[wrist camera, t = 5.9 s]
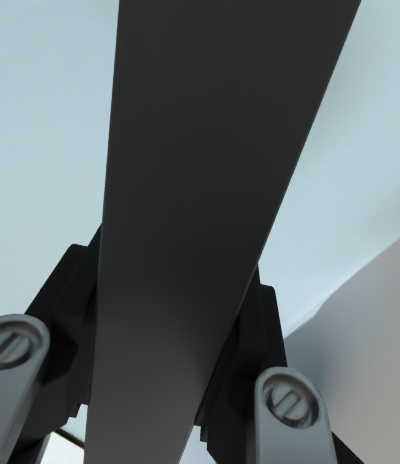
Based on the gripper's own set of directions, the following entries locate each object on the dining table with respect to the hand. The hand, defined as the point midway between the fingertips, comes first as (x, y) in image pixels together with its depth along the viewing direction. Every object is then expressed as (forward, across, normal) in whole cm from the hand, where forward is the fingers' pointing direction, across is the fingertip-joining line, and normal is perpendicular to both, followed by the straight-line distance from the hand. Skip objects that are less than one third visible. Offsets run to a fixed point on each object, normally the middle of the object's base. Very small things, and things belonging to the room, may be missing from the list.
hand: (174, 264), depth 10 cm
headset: (+13, 0, 0) cm, 13 cm away
